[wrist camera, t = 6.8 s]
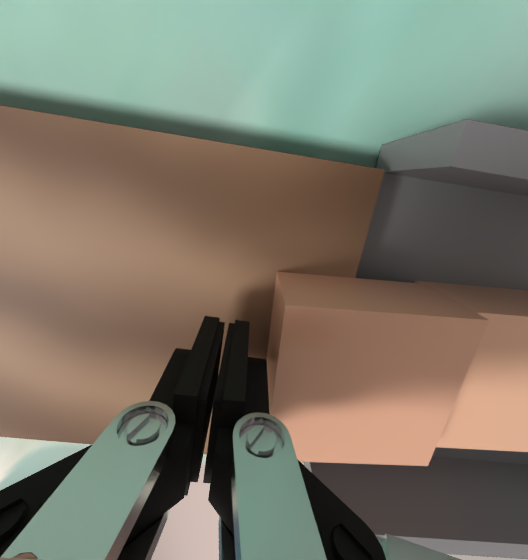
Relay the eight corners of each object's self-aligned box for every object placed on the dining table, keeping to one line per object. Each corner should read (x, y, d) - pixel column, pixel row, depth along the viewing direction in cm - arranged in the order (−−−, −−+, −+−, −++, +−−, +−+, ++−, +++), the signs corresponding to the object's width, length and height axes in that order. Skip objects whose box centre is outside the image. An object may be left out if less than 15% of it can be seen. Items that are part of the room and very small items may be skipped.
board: (-69, 99, 10) (-130, 83, 8) (366, 171, 11) (384, 169, 9) (0, 407, 14) (-31, 433, 13) (299, 434, 15) (304, 462, 14)
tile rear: (415, 280, 12) (464, 311, 9) (545, 291, 12) (634, 325, 9) (381, 391, 14) (413, 446, 11) (494, 399, 14) (553, 453, 11)
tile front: (276, 271, 10) (285, 305, 8) (427, 283, 11) (489, 320, 8) (262, 396, 12) (264, 460, 10) (389, 403, 13) (427, 466, 10)
